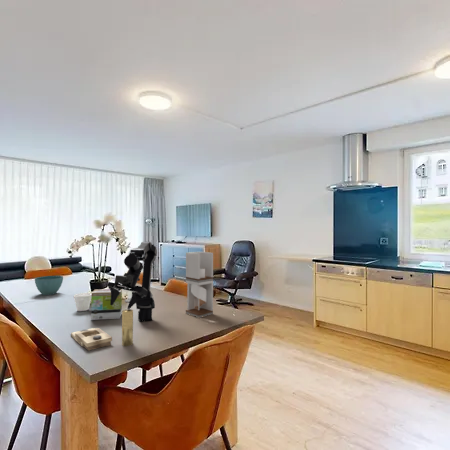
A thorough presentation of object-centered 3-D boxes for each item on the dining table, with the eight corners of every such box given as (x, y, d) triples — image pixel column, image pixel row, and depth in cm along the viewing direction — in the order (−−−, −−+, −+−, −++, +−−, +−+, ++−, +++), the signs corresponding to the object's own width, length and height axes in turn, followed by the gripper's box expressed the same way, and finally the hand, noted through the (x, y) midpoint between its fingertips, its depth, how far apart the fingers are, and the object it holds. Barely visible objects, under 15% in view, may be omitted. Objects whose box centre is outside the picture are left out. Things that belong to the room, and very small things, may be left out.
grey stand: (185, 313, 171) (186, 252, 172) (200, 310, 179) (200, 251, 179) (198, 318, 163) (198, 253, 164) (212, 314, 171) (213, 252, 171)
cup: (84, 313, 172) (85, 296, 172) (69, 312, 174) (69, 296, 174) (95, 308, 182) (95, 293, 182) (81, 307, 184) (81, 292, 184)
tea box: (90, 321, 158) (90, 292, 158) (93, 315, 167) (93, 289, 167) (120, 318, 162) (120, 291, 162) (121, 313, 171) (122, 287, 171)
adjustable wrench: (154, 306, 189) (154, 303, 189) (146, 308, 184) (146, 305, 184) (131, 300, 205) (131, 297, 205) (122, 302, 200) (122, 299, 200)
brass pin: (132, 341, 129) (132, 308, 129) (133, 345, 125) (133, 311, 125) (121, 342, 127) (121, 309, 127) (122, 346, 123) (122, 312, 123)
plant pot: (28, 295, 216) (28, 278, 216) (49, 290, 233) (50, 275, 233) (48, 297, 210) (48, 280, 211) (68, 292, 228) (68, 276, 228)
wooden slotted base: (93, 331, 142) (93, 323, 142) (112, 344, 126) (112, 335, 126) (70, 336, 135) (70, 328, 135) (87, 350, 119) (87, 341, 119)
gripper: (107, 264, 135) (91, 297, 128) (141, 270, 128) (127, 305, 121) (120, 273, 144) (106, 305, 137) (153, 279, 138) (140, 313, 130)
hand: (119, 306), depth 131 cm, fingers open, 9 cm apart
